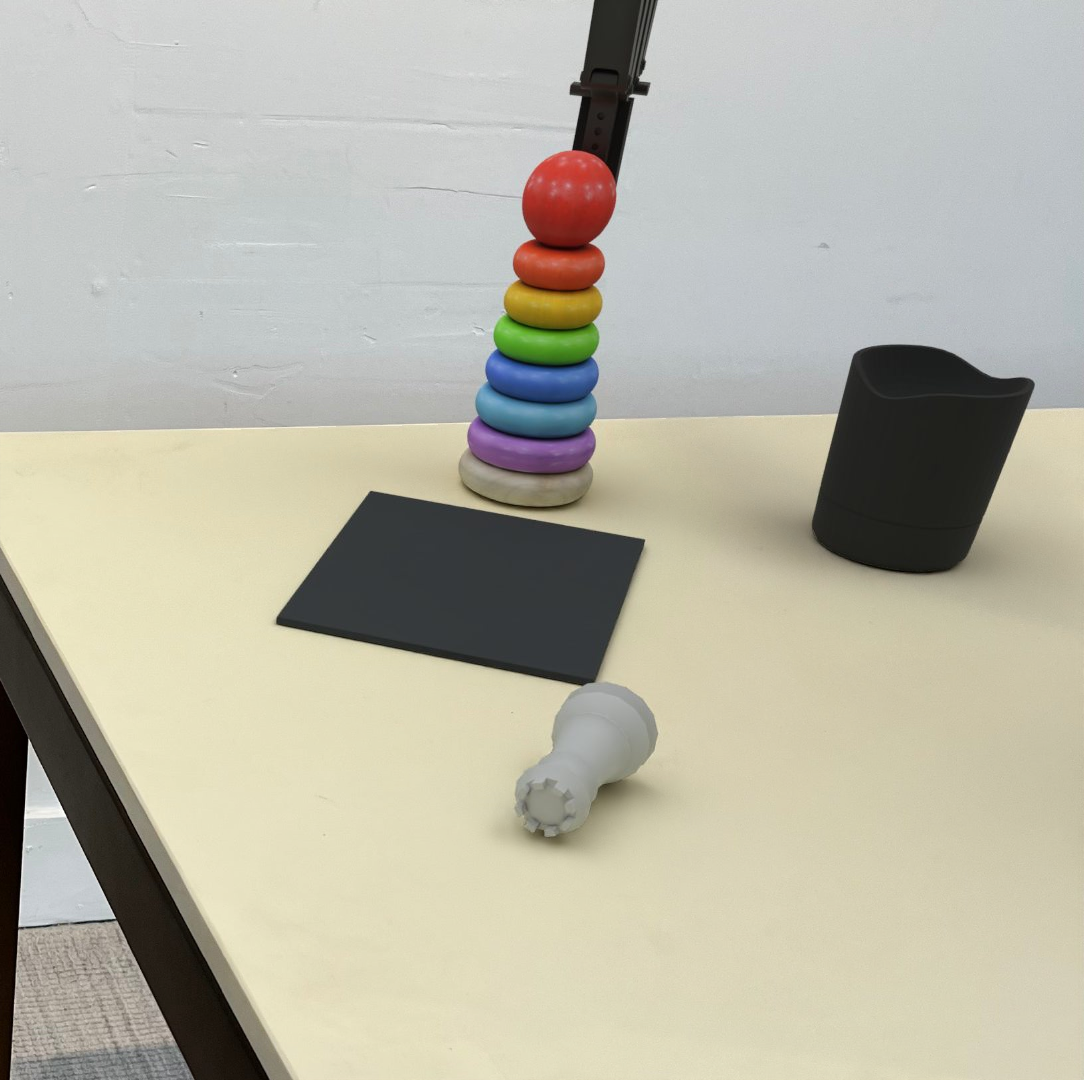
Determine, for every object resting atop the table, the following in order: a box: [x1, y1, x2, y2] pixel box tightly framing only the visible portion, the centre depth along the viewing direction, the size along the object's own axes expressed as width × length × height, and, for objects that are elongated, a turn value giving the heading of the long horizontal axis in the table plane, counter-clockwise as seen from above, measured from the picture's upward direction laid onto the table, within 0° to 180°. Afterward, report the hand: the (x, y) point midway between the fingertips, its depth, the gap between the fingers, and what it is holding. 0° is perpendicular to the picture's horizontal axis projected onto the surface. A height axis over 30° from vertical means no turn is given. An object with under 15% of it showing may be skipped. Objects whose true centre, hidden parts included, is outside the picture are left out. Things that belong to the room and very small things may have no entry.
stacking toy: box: [457, 149, 617, 507], centre depth 105 cm, size 8×8×19 cm
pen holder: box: [811, 343, 1036, 573], centre depth 103 cm, size 9×9×10 cm
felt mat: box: [275, 490, 646, 686], centre depth 99 cm, size 16×20×1 cm
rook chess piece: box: [513, 681, 659, 838], centre depth 78 cm, size 4×4×8 cm
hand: (584, 219), depth 106 cm, fingers closed
